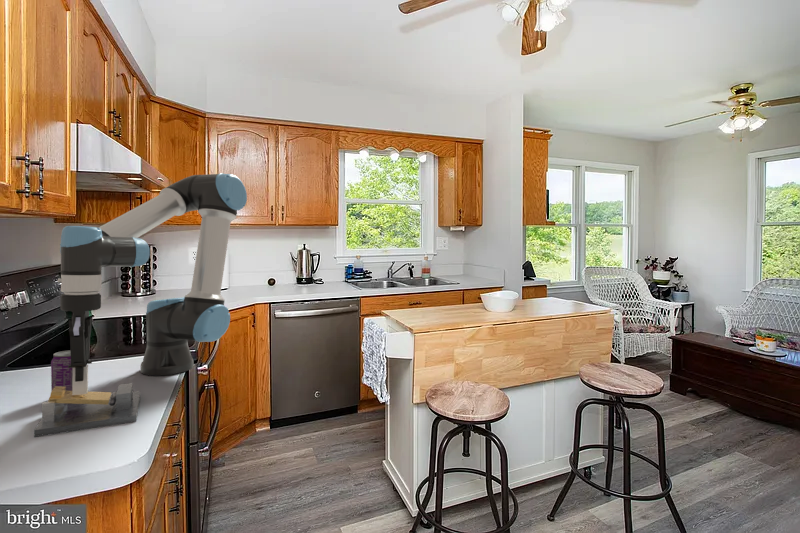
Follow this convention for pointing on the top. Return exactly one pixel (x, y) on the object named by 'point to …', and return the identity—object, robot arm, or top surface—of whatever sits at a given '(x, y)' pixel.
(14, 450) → the top surface
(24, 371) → the top surface
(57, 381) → the beverage can
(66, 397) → the tan flat panel
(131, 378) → the top surface
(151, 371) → the robot arm
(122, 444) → the top surface
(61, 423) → the clamp base
